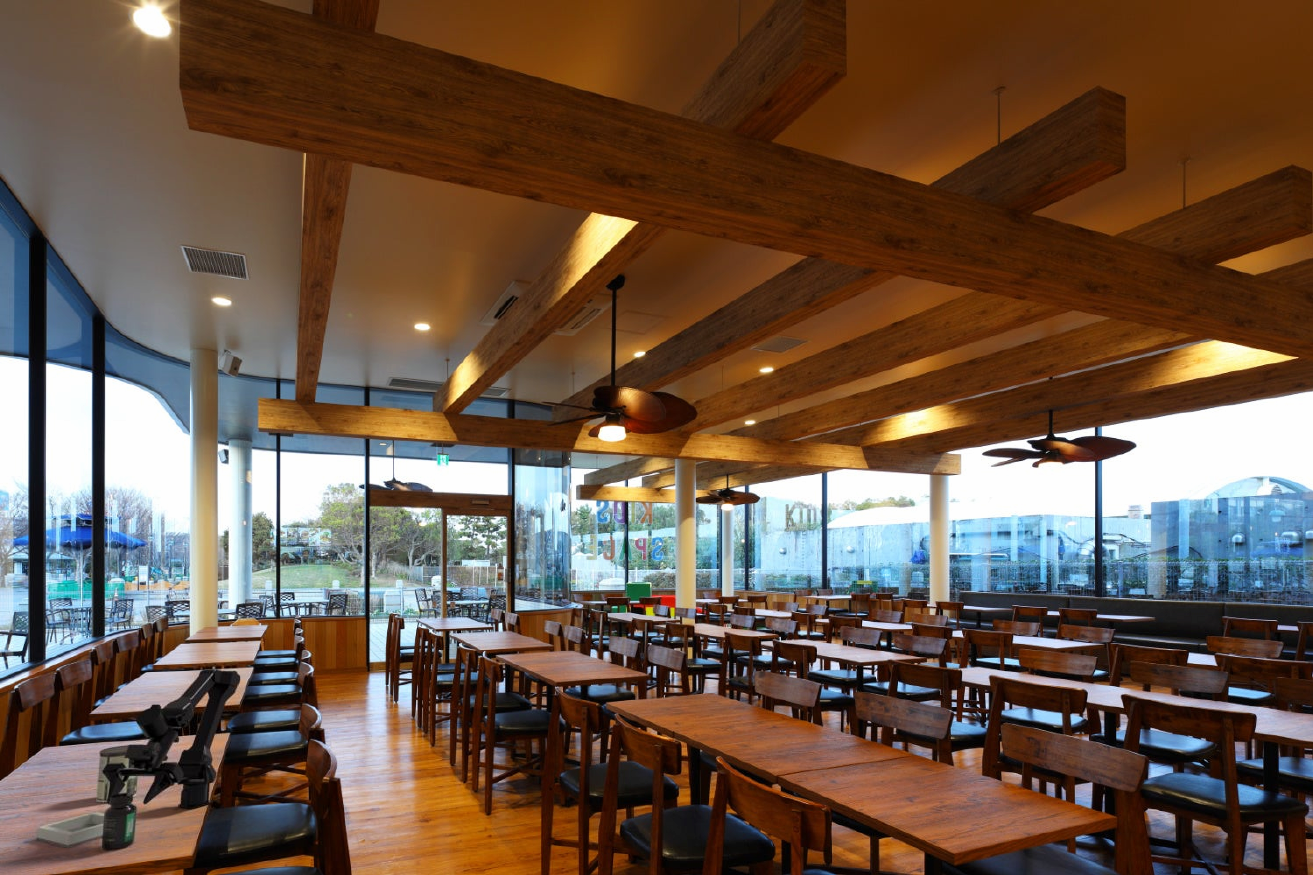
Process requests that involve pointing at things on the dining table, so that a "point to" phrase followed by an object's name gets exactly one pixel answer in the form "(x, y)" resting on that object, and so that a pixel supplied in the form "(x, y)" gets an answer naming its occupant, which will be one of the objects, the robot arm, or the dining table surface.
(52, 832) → the tray
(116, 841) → the supplement bottle
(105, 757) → the coffee can
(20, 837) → the dining table surface
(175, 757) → the dining table surface
